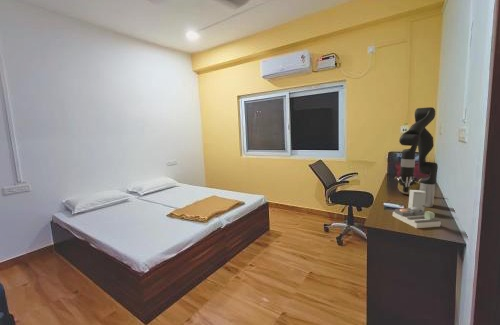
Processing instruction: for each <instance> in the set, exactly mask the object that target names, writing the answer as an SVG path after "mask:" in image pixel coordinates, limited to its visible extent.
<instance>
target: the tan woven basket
mask: <svg viewBox="0 0 500 325" xmlns="http://www.w3.org/2000/svg"><path fill="white" fill-rule="evenodd" d="M397 178H399V177H398V176H395V177H394V182H395V184H396V187H397V189H398V191H399V192H400V193H402V194H404V195H408V196H409V194H410V190H420V180H421V179H422V178H420V179H418V180H416V181H415V182H414V183H413V185H412V186H409V191H408V192H406V193H405V192H403V186H401V185H400V184H399V182H398V181H397ZM407 184H408V183H407ZM410 184H411V183H410Z"/></svg>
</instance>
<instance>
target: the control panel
mask: <svg viewBox="0 0 500 325" xmlns="http://www.w3.org/2000/svg"><path fill="white" fill-rule="evenodd" d="M399 209H400V208H395V209H394V211H392V217H393V218H395V219H397V220H399V221H401V222H403V223H405V224H407V225H409V226H411V227H412V228H415V229H423V228H424V229H425V228H437V227H441V223H442V222H441V219H440V218H434V219H428V220H427V219H425V218H424V215H425V210H424V211H423V210H420V211H418V212H414V211H412V210H410V208H408V207H407V208H402V209H406V210H409V212H401V211H399Z"/></svg>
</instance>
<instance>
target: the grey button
mask: <svg viewBox="0 0 500 325" xmlns="http://www.w3.org/2000/svg"><path fill="white" fill-rule="evenodd" d="M410 210H412V211H414V212H418V211H420V208H419V207H411V208H410Z"/></svg>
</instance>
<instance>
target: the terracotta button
mask: <svg viewBox="0 0 500 325" xmlns="http://www.w3.org/2000/svg"><path fill="white" fill-rule="evenodd" d="M398 209H399V211H401V212H409V210H406V208H404V209H403V208H398Z"/></svg>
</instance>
